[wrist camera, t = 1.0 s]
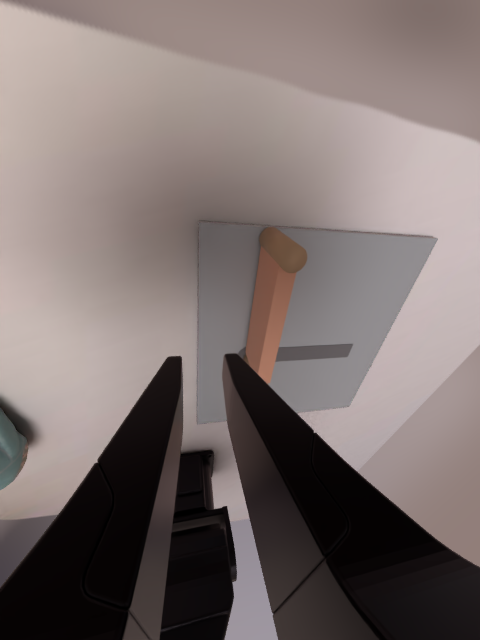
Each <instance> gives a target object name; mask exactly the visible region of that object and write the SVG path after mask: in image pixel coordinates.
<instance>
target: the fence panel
mask: <svg viewBox="0 0 480 640" xmlns="http://www.w3.org/2000/svg"><path fill="white" fill-rule="evenodd" d="M259 242H260V245H261V249H260V256H259V263H258V269H257V276H256V283H255V290H254V297H253V303H252V310H251V317H250V324H249V331H248V337H247V344H246V351H245V352H246V355H245V356H244V358H243V360H244V361H245V362H246V363H247V364H248V365H249V366H250V367H251V368H252V369H253V370H254V371H255V372H256V373H257V374H258V375H259V376H260V377H261V378H262V379H263V380H264V381H265V382H266V383H267V384H268V383H270V381H271V377H272V373H273V369H274V365H275V360H276V356H277V352H278V348H279V344H280V340H281V335H282V331H283V327H284V323H285V319H286V315H287V310H288V306H289V302H290V298H291V294H292V289H293V285H294V281H295V277H296V273H297V272H298V271H300V270H301V269H302V268H303V267H304V266H305V264H306V262H307V252H306V250H305V249H304V248H303V247H302V246H300V245H299V244H298V243H296V242H295V241H293V240H292V239H291V238H289V237H288V236H286V235H285V234H284V233H282V232H281V231H279V230H278V229H276V228H275V227H268V228H266V229H264V230H263V231H262V233H261V234H260V237H259Z"/></svg>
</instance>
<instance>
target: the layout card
mask: <svg viewBox="0 0 480 640" xmlns="http://www.w3.org/2000/svg"><path fill="white" fill-rule="evenodd" d="M268 227H275V228H276V229H278V230H279V231H281V232H282V233H284V234H285V235H286V236H288V237H289V238H291V239H292V240H293V241H295V242H296V243H298V244H299V245H300V246H302V247H303V248H304V249H305V250H306V252H307V262H306V264H305V266H304V267H303V268H302V269H301V270H300V271H298V272H297V273H296V277H295V281H294V285H293V289H292V294H291V298H290V302H289V306H288V310H287V315H286V319H285V323H284V327H283V331H282V335H281V340H280V344H279V348H278V352H277V356H276V360H275V365H274V369H273V373H272V377H271V381H270V383H268V385H269V386H270V387H271V388H272V389H273V390H274V391H275V392H276V393H277V394H278V395H279V396H280V397H281V398H282V399H283V400H284V401H285V402H286V403H287V404H288V405H289V406H290V407H291V408H292V409H293V410H294V411H295V412H296V413H300V412H309V411H318V410H326V409H335V408H344V407H349V406H350V404H351V402H352V400H353V399H354V397H355V395H356V393H357V391H358V389H359V387H360V385H361V383H362V382H363V380H364V378H365V376H366V374H367V372H368V370H369V368H370V366H371V365H372V363H373V361H374V359H375V357H376V355H377V353H378V351H379V349H380V348H381V346H382V344H383V342H384V340H385V338H386V336H387V334H388V332H389V331H390V329H391V327H392V325H393V323H394V321H395V319H396V317H397V315H398V314H399V312H400V310H401V308H402V306H403V304H404V302H405V300H406V298H407V297H408V295H409V293H410V291H411V289H412V287H413V285H414V283H415V281H416V280H417V278H418V276H419V274H420V272H421V270H422V268H423V266H424V264H425V263H426V261H427V259H428V257H429V255H430V253H431V251H432V249H433V247H434V246H435V244H436V242H437V240H438V238H434V237H427V236H413V235H398V234H383V233H369V232H354V231H339V230H325V229H310V228H295V227H281V226H266V225H251V224H237V223H222V222H207V221H199V243H198V354H197V424H205V423H213V422H222V421H227V416H226V408H225V399H224V390H223V381H222V369H223V357H224V355H225V354H228V353H237V354H238V355H239V356H240V357H241V358H242V359H243V358H244V356H245V355H246V352H245V351H246V344H247V337H248V331H249V324H250V317H251V310H252V303H253V297H254V290H255V283H256V276H257V269H258V263H259V256H260V249H261V245H260V242H259V237H260V234H261V233H262V231H263V230H264V229H266V228H268Z"/></svg>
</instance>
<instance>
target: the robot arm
mask: <svg viewBox="0 0 480 640" xmlns="http://www.w3.org/2000/svg"><path fill="white" fill-rule="evenodd" d="M222 381H223V390H224V399H225V408H226V416H227V423H228V428H229V433H230V437H231V442H232V446H233V450H234V454H235V458H236V463H237V467H238V471H239V475H240V479H241V484H242V488H243V492H244V496H245V501H246V505H247V509H248V513H249V517H250V522H251V526H252V530H253V534H254V538H255V543H256V547H257V551H258V555H259V560H260V564H261V568H262V572H263V576H264V581H265V585H266V589H267V593H268V598H269V602H270V606H271V610H272V613H273V619H274V623H275V627H276V632H277V636H278V640H480V567H479V566H477V565H475V564H473V563H471V562H470V561H468V560H466V559H464V558H463V557H461V556H460V555H458V554H457V553H455V552H453V551H452V550H451V549H449V548H448V547H446V546H445V545H444V544H442V543H441V542H440V541H438V540H437V539H435V538H434V537H433V536H432V535H431V534H429V533H428V532H427V531H426V530H424V529H423V528H422V527H421V526H420V525H419V524H417V523H416V522H415V521H414V520H413V519H411V518H410V517H409V516H408V515H407V514H406V513H404V512H403V511H402V510H401V509H400V508H399V507H397V506H396V505H395V504H394V503H393V502H392V501H390V500H389V499H388V498H387V497H385V496H384V495H383V494H382V493H381V492H380V491H379V490H377V489H376V488H375V487H374V486H373V485H372V484H370V483H369V482H368V481H367V480H366V479H365V478H364V477H362V476H361V475H360V474H359V473H358V472H357V471H356V470H355V469H353V468H352V467H351V466H350V465H349V464H348V463H347V462H346V461H344V460H343V459H342V458H341V457H340V456H339V455H338V454H337V453H336V452H335V451H334V450H333V449H332V448H331V447H330V446H329V445H328V444H327V443H326V442H325V441H324V440H323V439H322V438H321V437H320V436H319V435H318V434H317V433H314V430H313V429H312V428H311V427H310V426H309V425H308V424H307V423H306V422H305V421H304V420H303V419H302V418H301V417H300V416H299V415H298V414H297V413H296V412H295V411H294V410H293V409H292V408H291V407H290V406H289V405H288V404H287V403H286V402H285V401H284V400H283V399H282V398H281V397H280V396H279V395H278V394H277V393H276V392H275V391H274V390H273V389H272V388H271V387H270V386H269V385H268V384H267V383H266V382H265V381H264V380H263V379H262V378H261V377H260V376H259V375H258V374H257V373H256V372H255V371H254V370H253V369H252V368H251V367H250V366H249V365H248V364H247V363H246V362H245V361H244V360H243V359H242V358H241V357H240V356H239V355H238V354H237V353H228V354H225V355H224V357H223V369H222ZM182 435H183V373H182V357H181V356H170V357H168V358H167V359H166V360H165V362H164V363H163V364H162V366H161V367H160V369H159V370H158V372H157V373H156V375H155V376H154V378H153V379H152V381H151V382H150V383H149V385H148V386H147V388H146V389H145V391H144V392H143V394H142V395H141V397H140V398H139V400H138V401H137V403H136V404H135V405H134V407H133V408H132V410H131V411H130V413H129V414H128V416H127V417H126V419H125V420H124V422H123V423H122V424H121V426H120V427H119V429H118V430H117V432H116V433H115V435H114V436H113V438H112V439H111V441H110V442H109V444H108V445H107V446H106V448H105V449H104V451H103V452H102V454H101V455H100V457H99V458H98V463H95V464H94V465H93V467H92V468H91V470H90V471H89V473H88V474H87V475H86V477H85V478H84V480H83V481H82V483H81V484H80V486H79V487H78V488H77V490H76V491H75V493H74V494H73V495H72V497H71V498H70V499H69V501H68V502H67V504H66V505H65V506H64V508H63V509H62V511H61V512H60V513H59V514H58V516H57V517H56V518H55V520H54V521H53V522H52V523H51V525H50V526H49V527H48V529H47V530H46V531H45V532H44V534H43V535H42V536H41V537H40V539H39V540H38V541H37V543H36V544H35V545H34V546H33V548H32V549H31V550H30V551H29V553H28V554H27V555H26V556H25V558H24V559H23V560H22V561H21V562H20V564H19V565H18V566H17V567H16V569H15V570H14V571H13V572H12V574H11V575H10V576H9V577H8V579H7V580H6V581H5V582H4V583H3V585H2V586H1V587H0V640H224V638H225V635H226V630H227V626H228V622H229V617H230V613H231V608H232V604H233V599H234V593H233V584H232V582H234V581H236V578H237V570H236V557H235V548H234V542H233V537H232V531H231V526H230V520H229V515H228V509H227V506H224V507H222V508H218V509H214V503H213V492H212V481H211V477H212V473H213V461H214V452H213V451H207V452H200V453H193V454H185V455H180V453H181V444H182Z"/></svg>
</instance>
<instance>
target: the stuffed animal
mask: <svg viewBox="0 0 480 640" xmlns="http://www.w3.org/2000/svg"><path fill="white" fill-rule="evenodd" d="M27 454H28V444H27V439H26V437H24V436H23V435H22V434H20V433H19V432H18V431H16V429H15V427H14V425H13V424H12V422H11V421H10V420H9V419H8V418H7V416H6V415H5V413H4V412H3V410H2V409H1V408H0V490H2V489H3V488H5V487H6V486H7V485H9V484H10V483H11V482H13V481H14V480H15V478H16V477H17V475H18V474H19V473H20V471H21V470H22V468H23V466H24V464H25V462H26V459H27Z"/></svg>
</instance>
